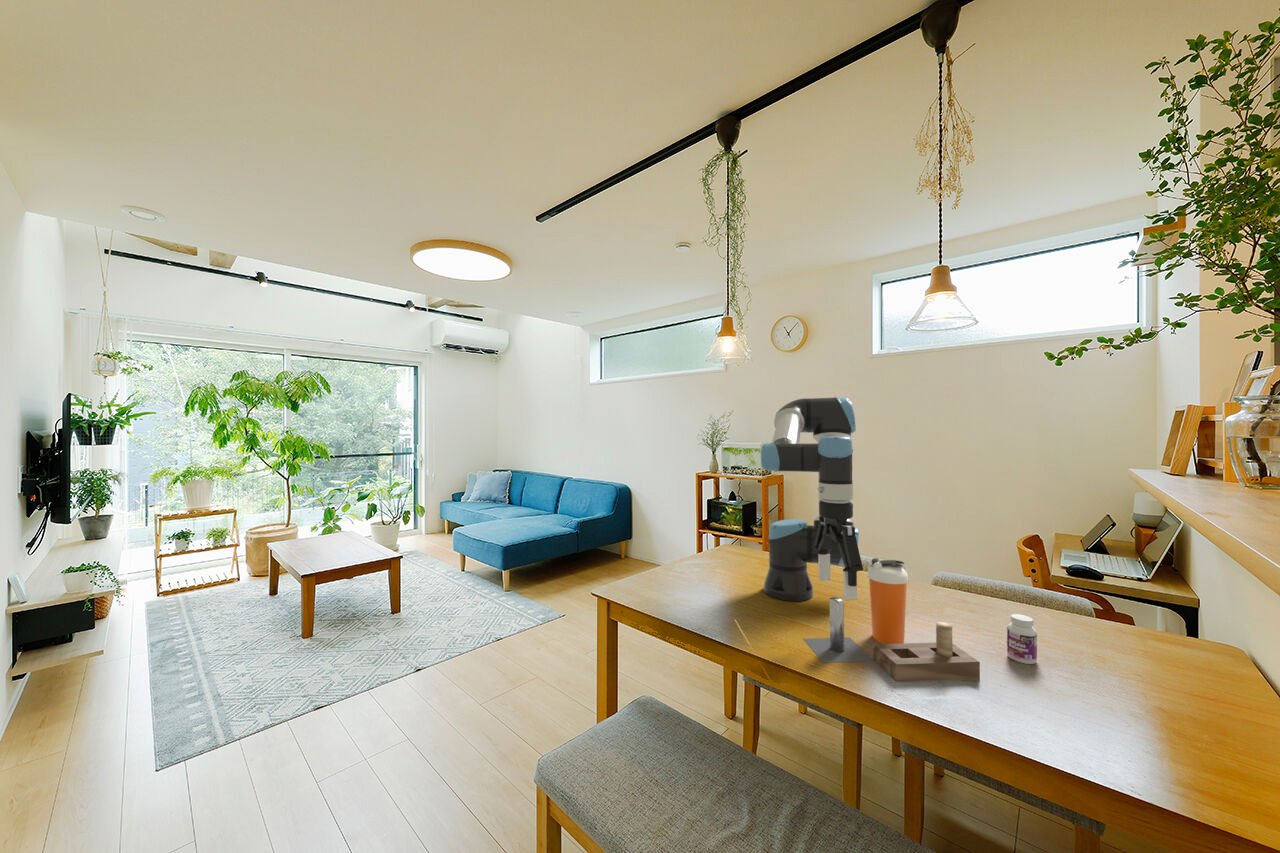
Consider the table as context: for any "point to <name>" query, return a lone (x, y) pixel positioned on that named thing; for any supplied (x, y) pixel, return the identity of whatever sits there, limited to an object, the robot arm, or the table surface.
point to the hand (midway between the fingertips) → (836, 589)
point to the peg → (837, 624)
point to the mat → (828, 656)
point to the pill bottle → (1022, 639)
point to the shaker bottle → (888, 600)
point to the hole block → (925, 663)
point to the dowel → (944, 639)
